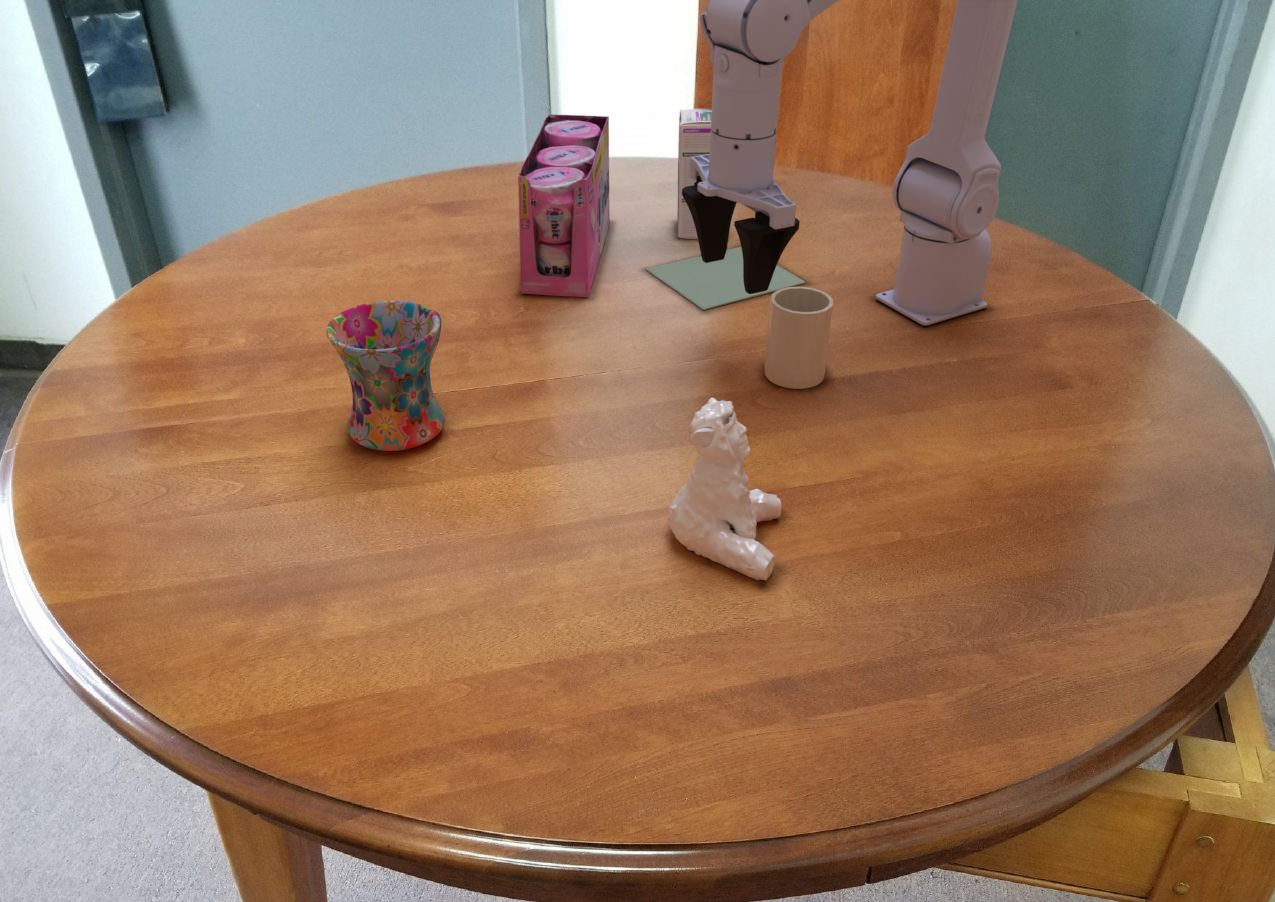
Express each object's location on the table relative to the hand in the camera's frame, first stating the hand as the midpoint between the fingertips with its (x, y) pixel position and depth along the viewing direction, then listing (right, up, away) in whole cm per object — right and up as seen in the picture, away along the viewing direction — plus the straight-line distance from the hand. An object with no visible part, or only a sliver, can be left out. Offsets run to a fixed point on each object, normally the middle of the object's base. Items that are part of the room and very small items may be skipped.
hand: (734, 275), depth 100 cm
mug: (-30, -14, -4) cm, 33 cm away
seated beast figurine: (-3, -24, -17) cm, 29 cm away
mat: (+1, +4, +23) cm, 24 cm away
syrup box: (-1, +11, +35) cm, 37 cm away
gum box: (-17, +7, +28) cm, 33 cm away
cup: (+6, -9, +5) cm, 12 cm away
